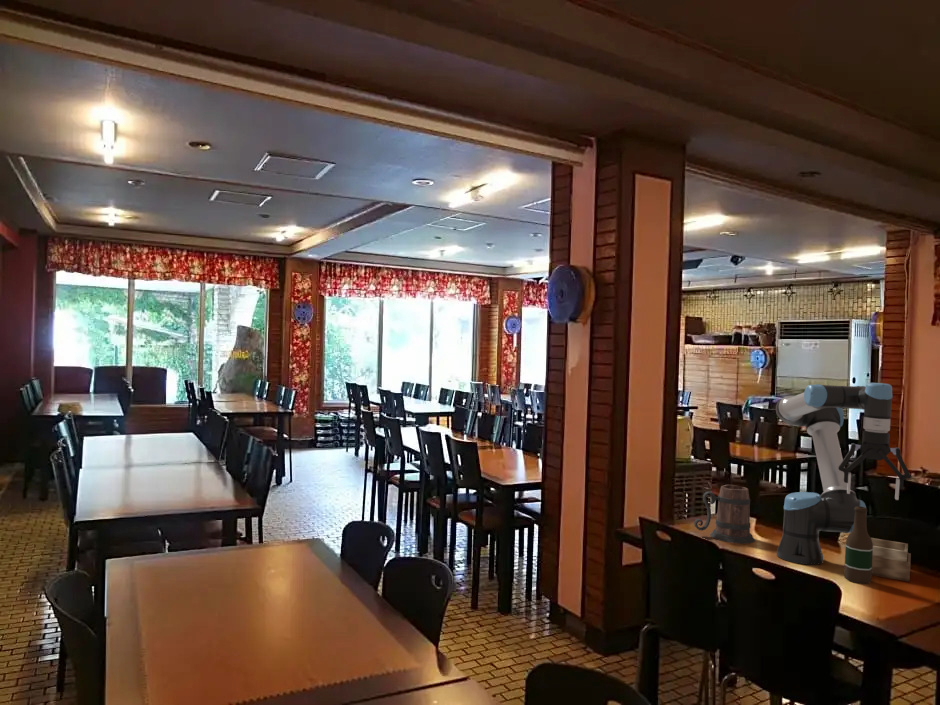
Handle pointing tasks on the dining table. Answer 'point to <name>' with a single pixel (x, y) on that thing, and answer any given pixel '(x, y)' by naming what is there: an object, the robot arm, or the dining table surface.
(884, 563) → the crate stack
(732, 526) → the tankard
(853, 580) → the beer bottle
